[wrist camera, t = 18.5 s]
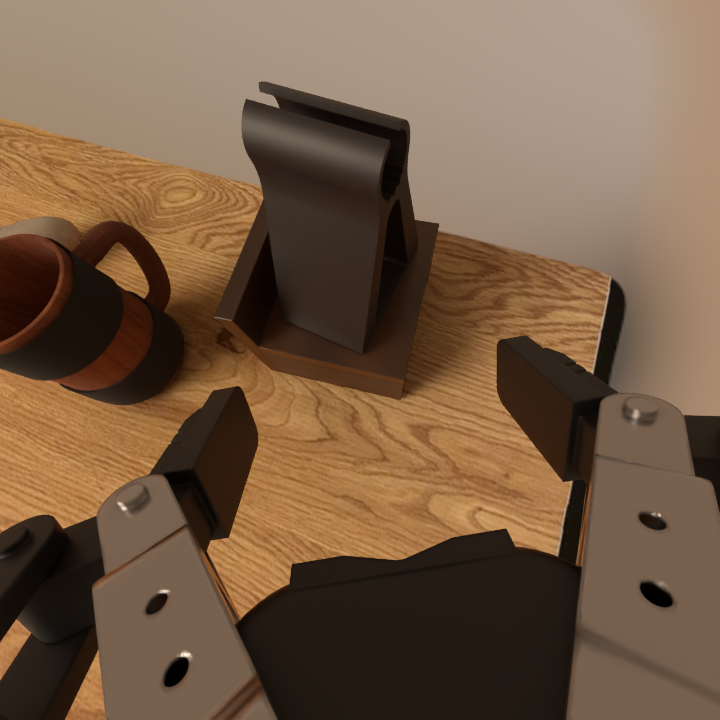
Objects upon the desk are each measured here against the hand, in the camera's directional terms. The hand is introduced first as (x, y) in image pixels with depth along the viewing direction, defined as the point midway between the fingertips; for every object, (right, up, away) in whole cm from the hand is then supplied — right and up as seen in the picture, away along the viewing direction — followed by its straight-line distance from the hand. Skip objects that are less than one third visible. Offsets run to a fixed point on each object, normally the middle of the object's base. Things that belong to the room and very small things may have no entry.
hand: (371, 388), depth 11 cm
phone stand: (-1, +6, +13) cm, 15 cm away
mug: (-18, +2, +20) cm, 27 cm away
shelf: (0, +4, +19) cm, 19 cm away
